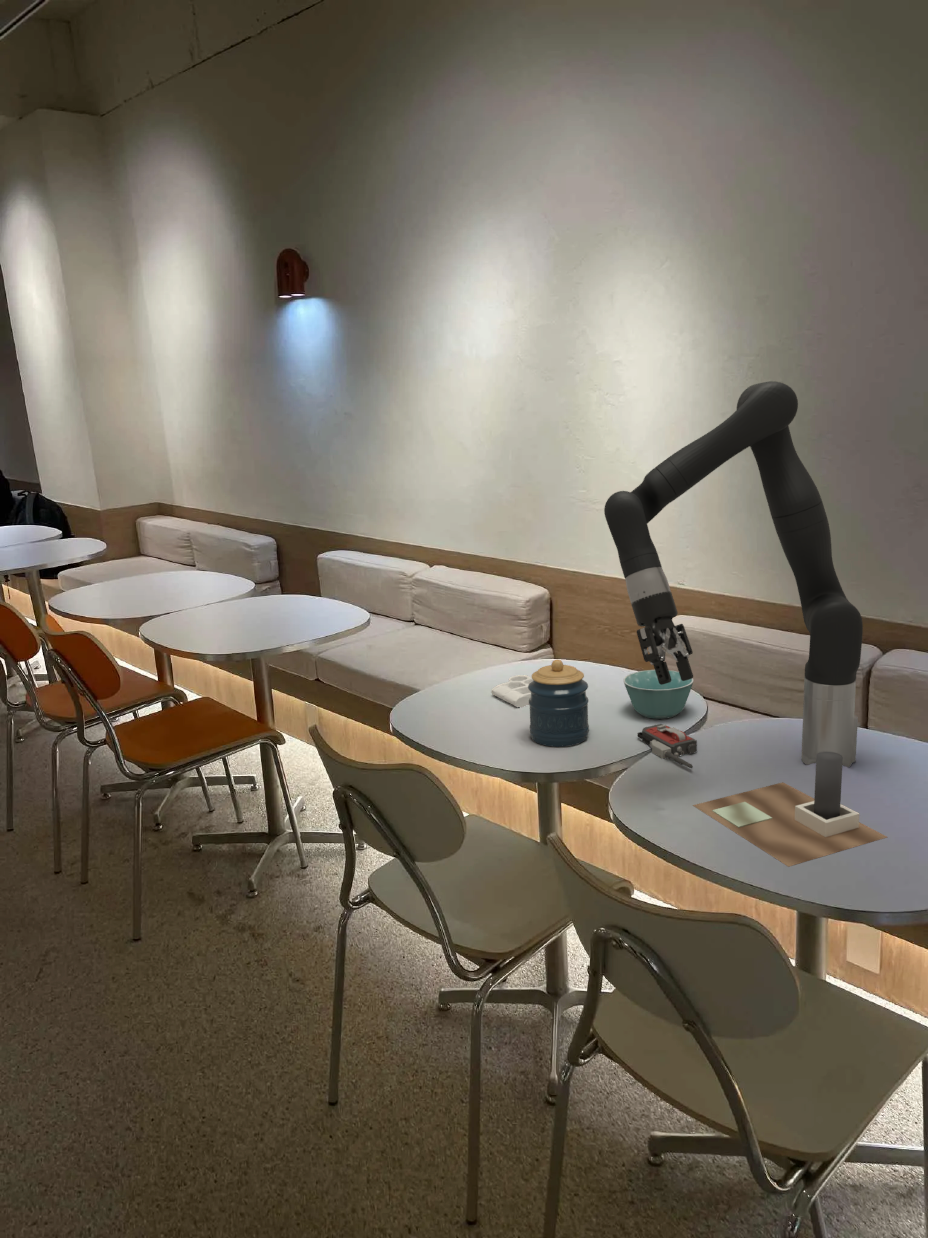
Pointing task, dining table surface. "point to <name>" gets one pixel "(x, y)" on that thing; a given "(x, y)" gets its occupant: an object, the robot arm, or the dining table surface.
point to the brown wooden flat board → (781, 824)
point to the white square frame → (830, 826)
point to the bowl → (657, 694)
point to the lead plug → (828, 784)
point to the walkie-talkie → (668, 742)
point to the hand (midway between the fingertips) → (677, 681)
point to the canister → (558, 706)
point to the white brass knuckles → (514, 690)
